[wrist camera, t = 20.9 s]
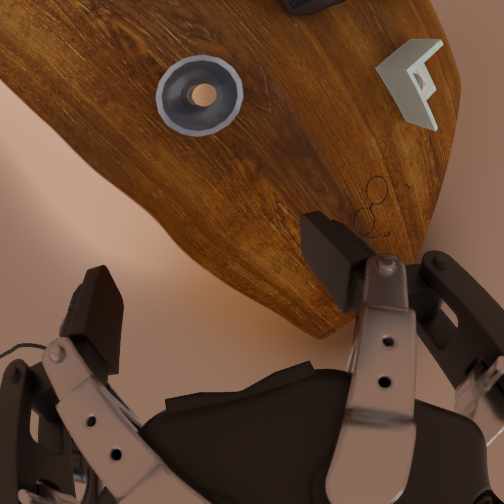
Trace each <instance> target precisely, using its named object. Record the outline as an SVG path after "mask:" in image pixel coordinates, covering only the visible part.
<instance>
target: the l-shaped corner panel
mask: <svg viewBox="0 0 504 504" xmlns="http://www.w3.org/2000/svg"><path fill="white" fill-rule="evenodd" d="M441 46H443V43H442V41H441V39H409V40H408V41H407V42H406V43H404V44H403V45H402V46H401V47H399V48H398V49H397V50H396V51H394V52H393V53H392V54H391V55H390V56H388V57H387V58H386V59H385V60H384V61H382V62H381V63H380V64H379V65H378V66H377V67H375V69H376V71H377V72H378V74H379V76H380V77H381V79H382V80H383V82H384V84H385V85H386V87H387V89H388V90H389V92H390V94H391V95H392V97H393V99H394V101H395V102H396V104H397V106H398V108H399V110H400V112H401V114H402V115H403V117H404V119H405V121H406V122H408V123H412V124H415V125H418V126H421V127H424V128H427V129H430V130H433V131H436V130H437V129H438V128H437V125H436V122H435V120H434V118H433V115H432V113H431V110H430V108H429V106H428V104H427V101H426V100H427V99H428V98H429V97H430V96H431V95H432V94H433V93H434V92H435V91H436V88H435V85H434V83H433V81H432V79H431V77H430V75H429V73H428V71H427V69H426V67H425V65H424V62H425V61H426V60H427V59H428V58H429V57H430V56H432V55H433V54H434V53H435V52H436V51H437V50H438V49H439V48H440V47H441Z"/></svg>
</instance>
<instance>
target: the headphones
mask: <svg viewBox="0 0 504 504" xmlns="http://www.w3.org/2000/svg"><path fill="white" fill-rule="evenodd" d="M344 1H346V0H282V2H283V3H284V5H285V6H286V8H287V9H288V11H289V12H290V13H291V14H292V15H294V16H302V15H310V14H313V13H315V12H318V11H321V10H323V9H326V8H328V7H331V6H334V5H337V4H339V3H342V2H344Z"/></svg>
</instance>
